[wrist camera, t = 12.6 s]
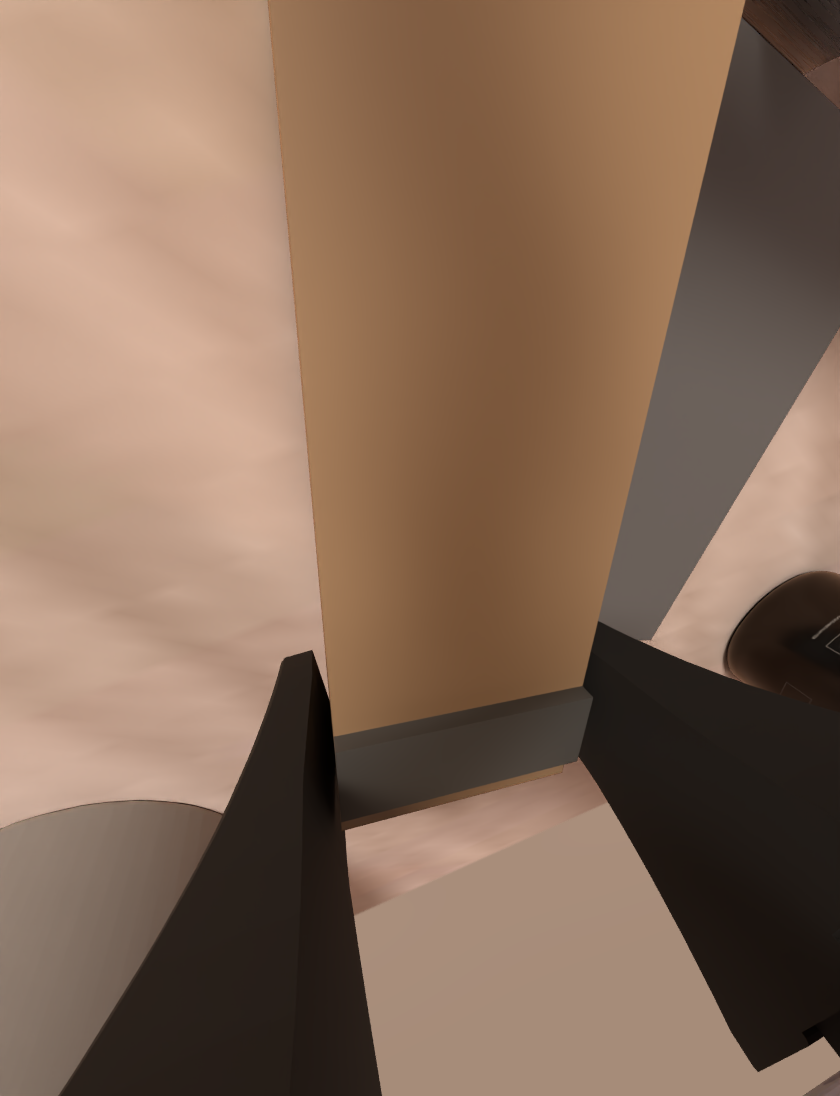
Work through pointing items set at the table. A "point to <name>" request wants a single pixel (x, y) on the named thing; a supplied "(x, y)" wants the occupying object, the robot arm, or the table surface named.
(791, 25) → the housing
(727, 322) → the pad
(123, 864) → the coffee mug
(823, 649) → the supplement bottle
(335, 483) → the wooden block
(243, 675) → the table surface
